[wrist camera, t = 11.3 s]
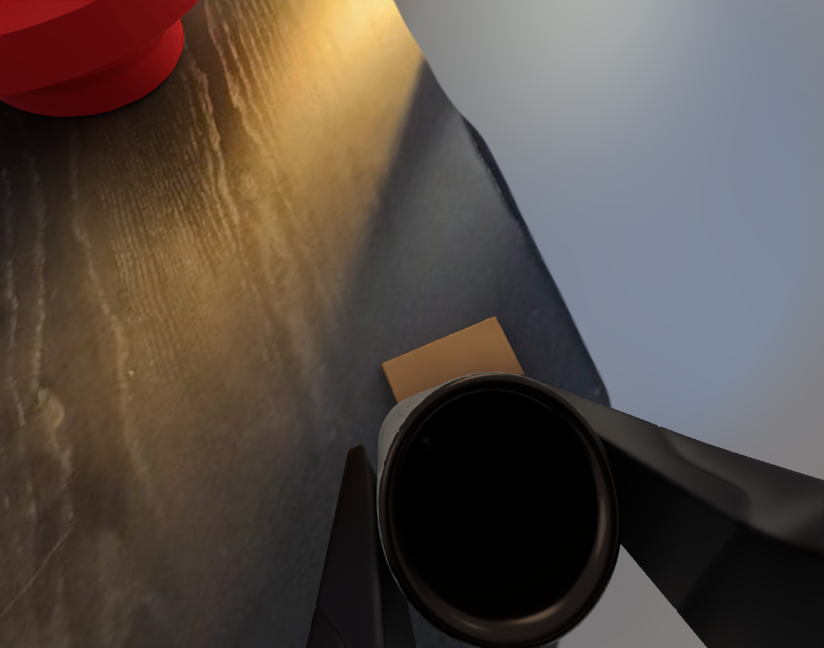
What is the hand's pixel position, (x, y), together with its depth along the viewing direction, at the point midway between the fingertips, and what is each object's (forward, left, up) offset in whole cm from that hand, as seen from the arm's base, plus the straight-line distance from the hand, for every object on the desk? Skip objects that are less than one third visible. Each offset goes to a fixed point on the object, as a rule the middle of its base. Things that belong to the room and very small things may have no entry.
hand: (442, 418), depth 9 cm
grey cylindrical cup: (-1, 0, -7) cm, 7 cm away
